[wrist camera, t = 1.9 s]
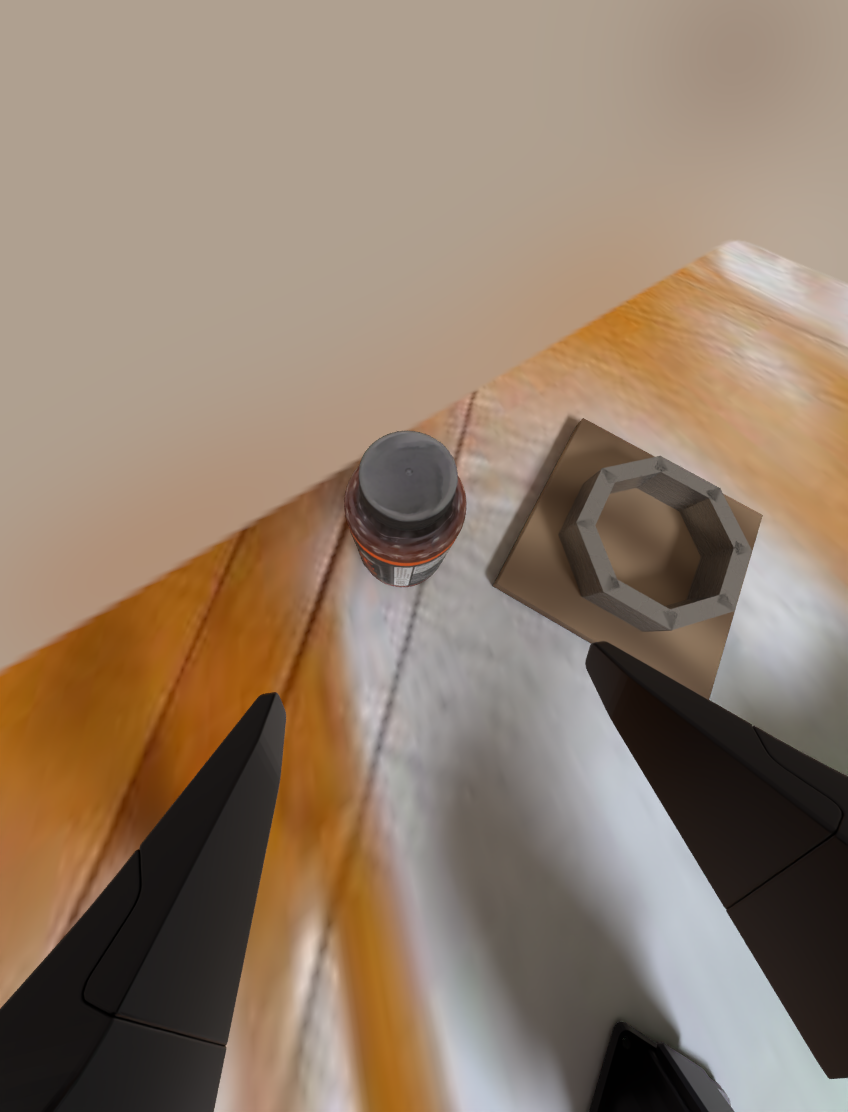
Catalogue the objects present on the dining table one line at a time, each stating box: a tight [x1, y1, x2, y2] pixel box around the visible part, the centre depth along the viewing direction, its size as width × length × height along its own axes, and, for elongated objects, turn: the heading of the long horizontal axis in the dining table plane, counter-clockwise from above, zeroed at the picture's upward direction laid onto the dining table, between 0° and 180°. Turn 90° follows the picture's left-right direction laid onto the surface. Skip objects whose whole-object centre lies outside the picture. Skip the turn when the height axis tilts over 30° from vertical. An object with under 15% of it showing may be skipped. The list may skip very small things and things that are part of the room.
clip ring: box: [558, 456, 752, 632], centre depth 23 cm, size 12×12×2 cm
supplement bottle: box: [344, 431, 466, 587], centre depth 18 cm, size 6×6×11 cm
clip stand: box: [493, 418, 763, 700], centre depth 25 cm, size 16×16×1 cm
